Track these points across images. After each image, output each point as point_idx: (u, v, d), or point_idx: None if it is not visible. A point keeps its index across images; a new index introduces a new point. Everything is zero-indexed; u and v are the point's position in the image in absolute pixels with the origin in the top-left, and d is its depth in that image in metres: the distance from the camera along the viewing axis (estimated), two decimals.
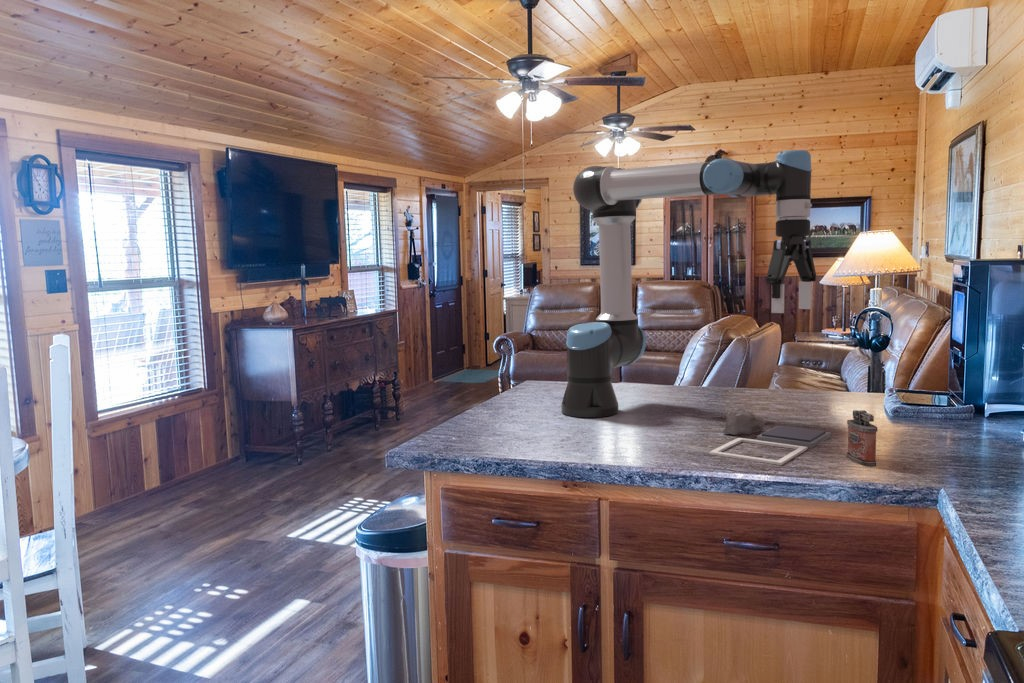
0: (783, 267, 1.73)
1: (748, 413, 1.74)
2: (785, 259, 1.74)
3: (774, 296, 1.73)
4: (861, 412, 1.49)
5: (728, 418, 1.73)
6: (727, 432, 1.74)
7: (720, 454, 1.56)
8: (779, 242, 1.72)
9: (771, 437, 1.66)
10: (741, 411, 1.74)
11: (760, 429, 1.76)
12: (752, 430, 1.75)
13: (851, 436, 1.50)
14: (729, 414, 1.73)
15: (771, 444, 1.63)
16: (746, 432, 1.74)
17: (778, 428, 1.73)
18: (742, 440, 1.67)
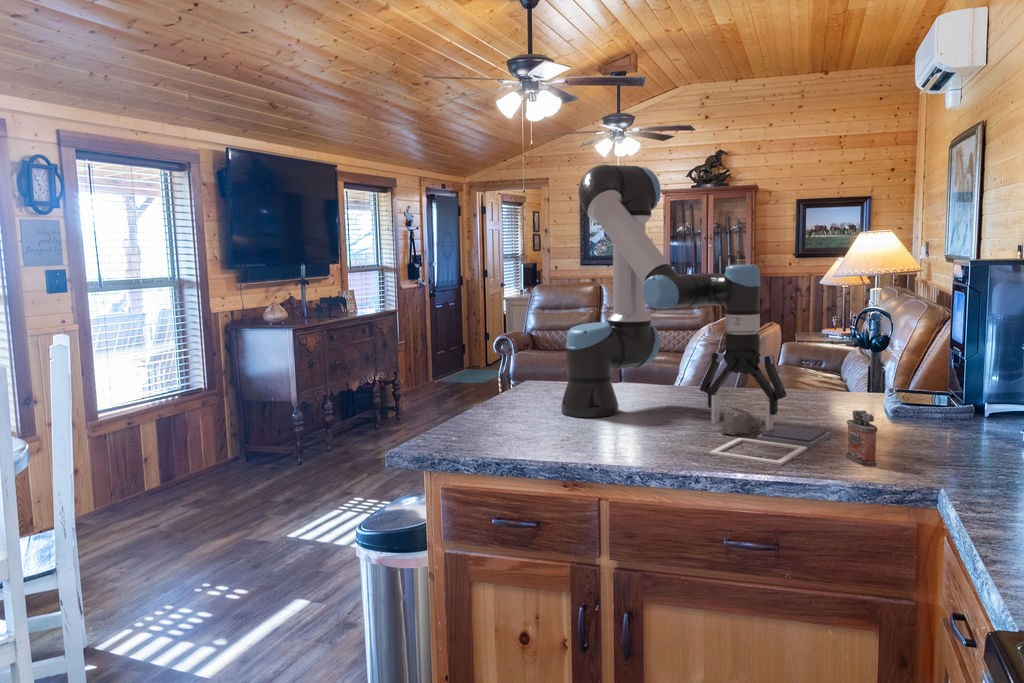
0: None
1: (746, 413, 1.74)
2: None
3: None
4: (861, 412, 1.49)
5: (726, 418, 1.73)
6: (725, 432, 1.74)
7: (720, 454, 1.56)
8: None
9: (771, 437, 1.66)
10: (739, 411, 1.74)
11: (757, 429, 1.76)
12: (749, 430, 1.75)
13: (851, 436, 1.50)
14: (727, 414, 1.73)
15: (771, 444, 1.63)
16: (743, 432, 1.75)
17: (778, 428, 1.73)
18: (742, 440, 1.67)
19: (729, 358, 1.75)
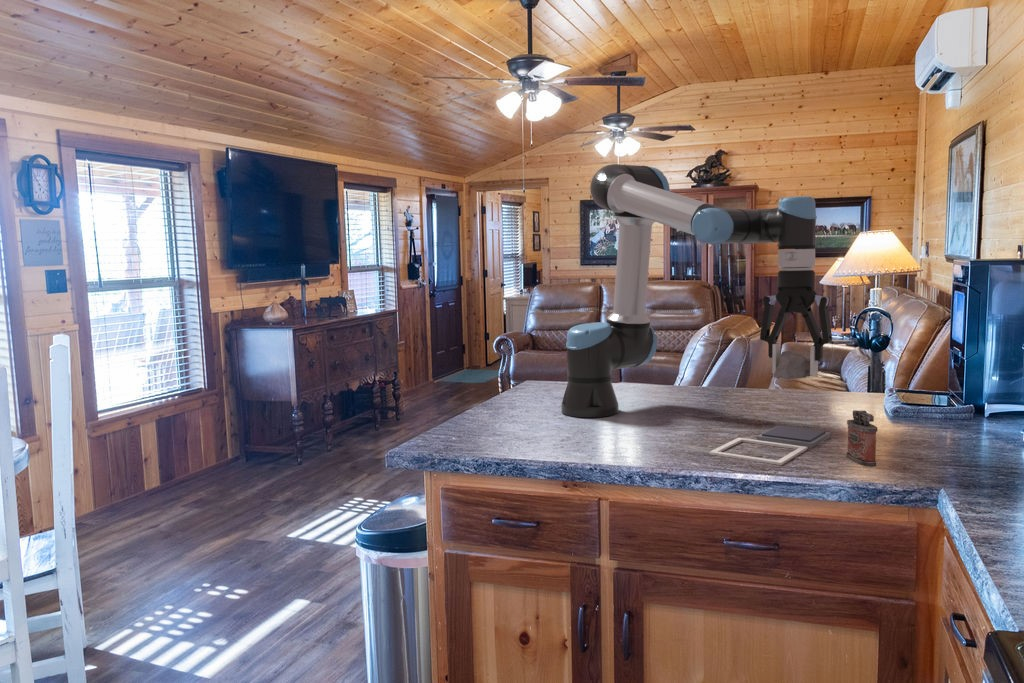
0: None
1: (801, 356, 1.65)
2: None
3: None
4: (861, 412, 1.49)
5: (780, 361, 1.64)
6: (779, 376, 1.65)
7: (720, 454, 1.56)
8: None
9: (771, 437, 1.66)
10: (793, 354, 1.65)
11: None
12: (804, 374, 1.66)
13: (851, 436, 1.50)
14: (781, 357, 1.64)
15: (771, 444, 1.63)
16: (798, 376, 1.65)
17: (778, 428, 1.73)
18: (742, 440, 1.67)
19: (782, 296, 1.66)
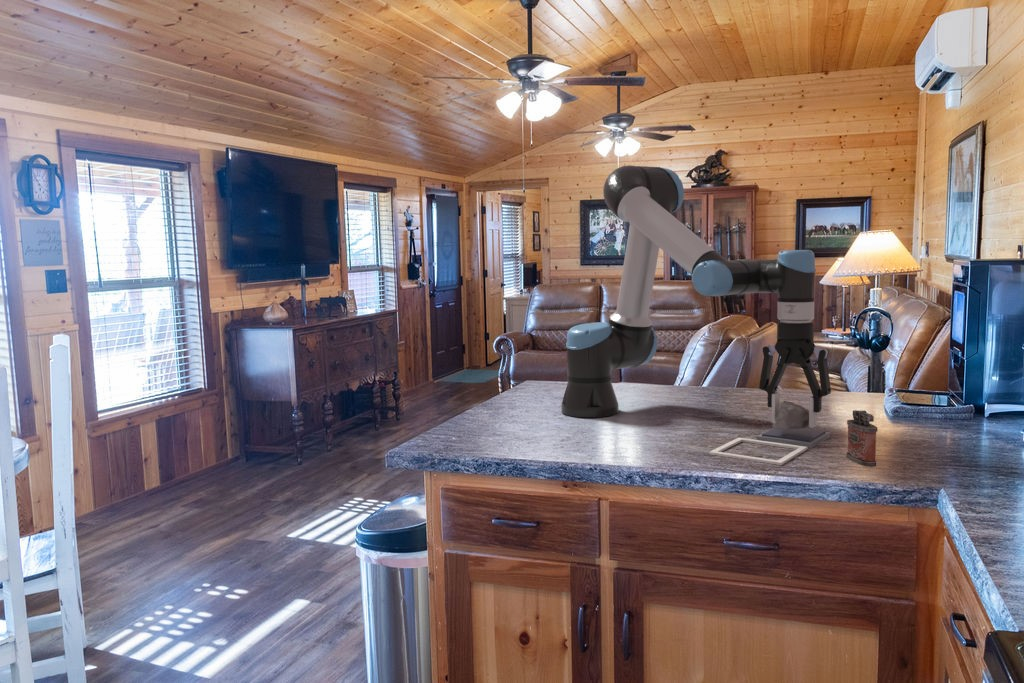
0: None
1: (800, 407, 1.66)
2: None
3: None
4: (861, 412, 1.49)
5: (779, 412, 1.65)
6: (778, 427, 1.66)
7: (720, 454, 1.56)
8: None
9: (771, 437, 1.66)
10: (792, 405, 1.67)
11: None
12: (803, 425, 1.67)
13: (851, 436, 1.50)
14: (780, 408, 1.65)
15: (771, 444, 1.63)
16: (797, 427, 1.67)
17: None
18: (742, 440, 1.67)
19: (781, 347, 1.68)
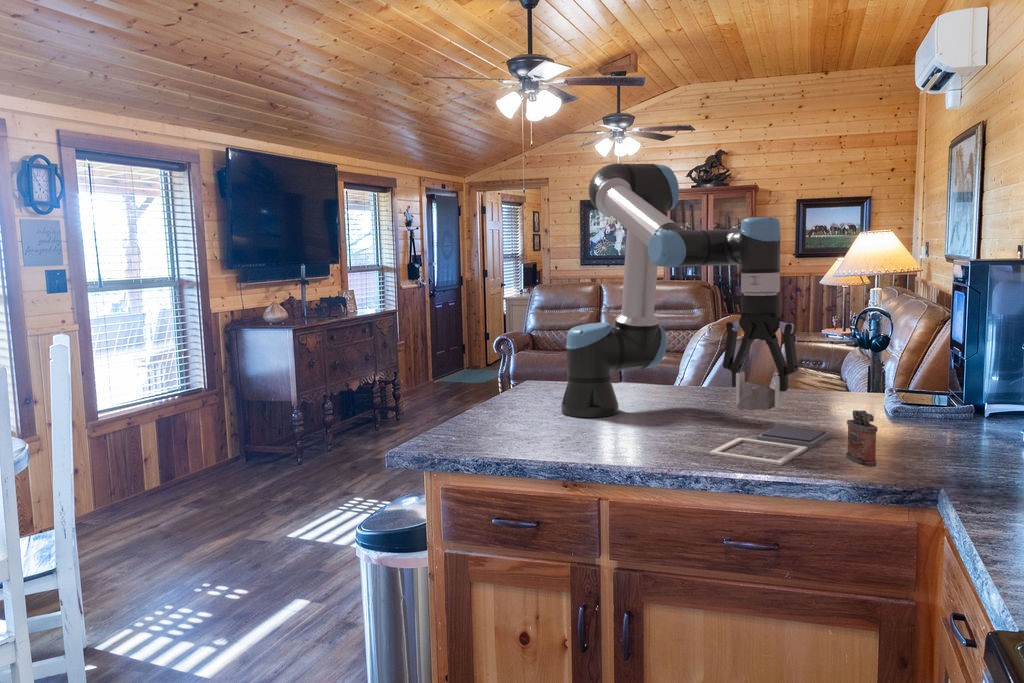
0: None
1: (765, 386, 1.55)
2: None
3: None
4: (861, 412, 1.49)
5: (743, 391, 1.54)
6: (742, 407, 1.55)
7: (720, 454, 1.56)
8: None
9: (771, 437, 1.66)
10: (757, 384, 1.55)
11: None
12: (769, 405, 1.56)
13: (851, 436, 1.50)
14: (744, 387, 1.54)
15: (771, 444, 1.63)
16: (763, 407, 1.56)
17: (778, 428, 1.73)
18: (742, 440, 1.67)
19: (745, 322, 1.57)
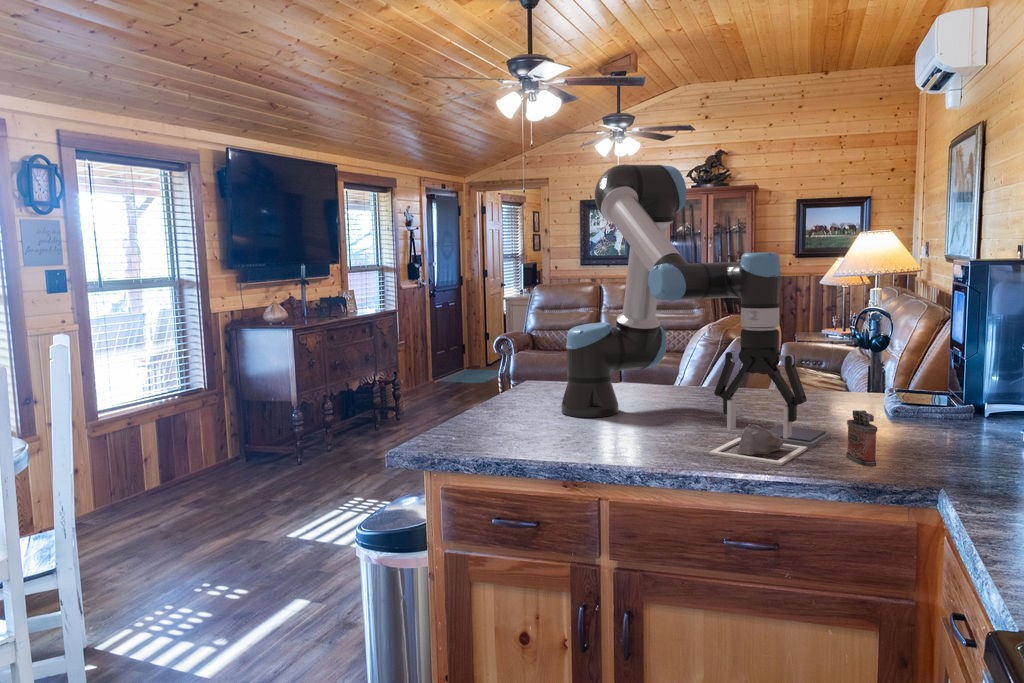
0: None
1: (765, 431, 1.56)
2: None
3: None
4: (861, 412, 1.49)
5: (743, 437, 1.55)
6: (742, 452, 1.56)
7: (720, 454, 1.56)
8: None
9: None
10: (757, 429, 1.57)
11: (777, 448, 1.58)
12: (769, 450, 1.57)
13: (851, 436, 1.50)
14: (744, 432, 1.55)
15: None
16: (762, 452, 1.57)
17: (778, 428, 1.73)
18: None
19: (745, 357, 1.57)
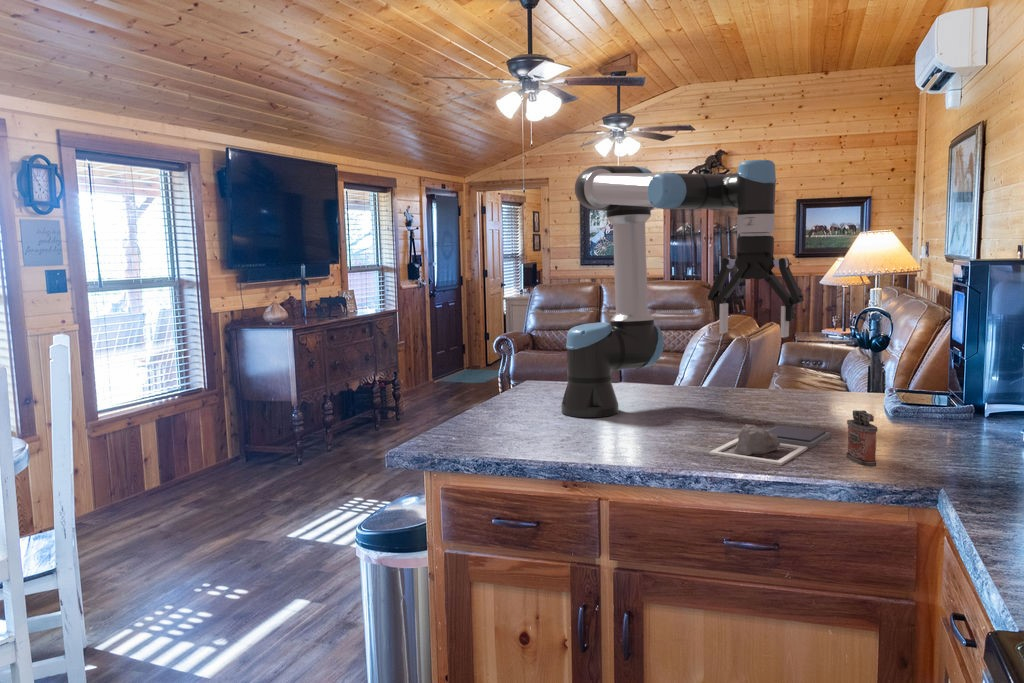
0: None
1: (762, 431, 1.56)
2: None
3: None
4: (861, 412, 1.49)
5: (740, 437, 1.55)
6: (739, 452, 1.56)
7: (720, 454, 1.56)
8: None
9: None
10: (754, 429, 1.57)
11: (775, 448, 1.58)
12: (766, 449, 1.57)
13: (851, 436, 1.50)
14: (741, 432, 1.55)
15: None
16: (760, 452, 1.57)
17: (778, 428, 1.73)
18: None
19: (741, 263, 1.63)
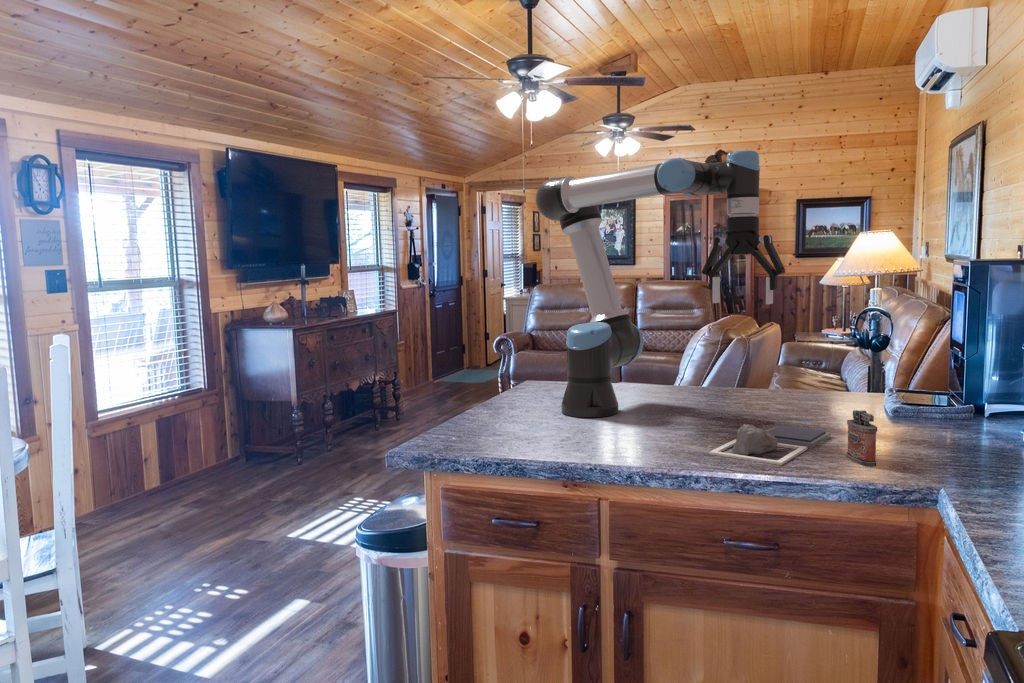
0: None
1: (760, 431, 1.56)
2: None
3: None
4: (861, 412, 1.49)
5: (738, 436, 1.56)
6: (737, 452, 1.56)
7: (720, 454, 1.56)
8: None
9: None
10: (752, 428, 1.57)
11: (772, 448, 1.58)
12: (764, 449, 1.58)
13: (851, 436, 1.50)
14: (739, 432, 1.55)
15: None
16: (757, 452, 1.57)
17: (778, 428, 1.73)
18: None
19: (730, 241, 1.87)
